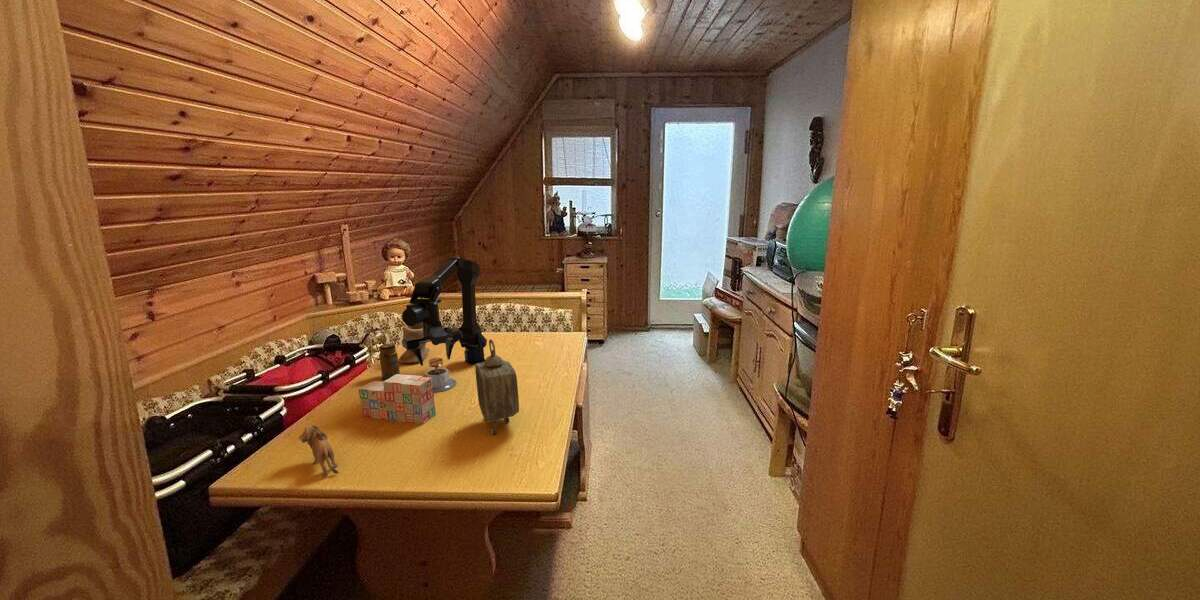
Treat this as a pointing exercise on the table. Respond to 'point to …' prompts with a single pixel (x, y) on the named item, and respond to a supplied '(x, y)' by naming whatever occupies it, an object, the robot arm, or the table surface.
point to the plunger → (436, 363)
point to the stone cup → (417, 332)
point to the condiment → (388, 361)
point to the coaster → (451, 385)
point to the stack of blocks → (399, 399)
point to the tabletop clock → (496, 388)
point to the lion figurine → (319, 447)
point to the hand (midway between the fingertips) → (435, 362)
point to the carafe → (439, 377)
